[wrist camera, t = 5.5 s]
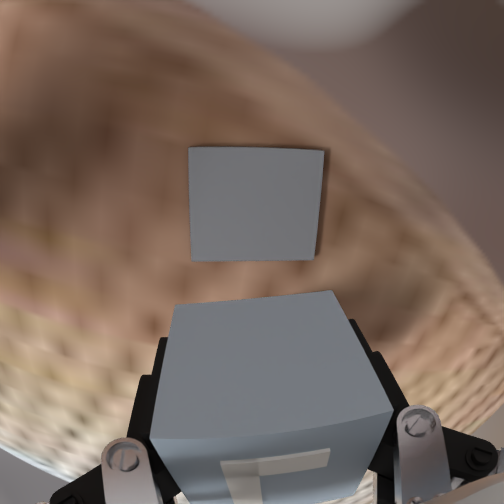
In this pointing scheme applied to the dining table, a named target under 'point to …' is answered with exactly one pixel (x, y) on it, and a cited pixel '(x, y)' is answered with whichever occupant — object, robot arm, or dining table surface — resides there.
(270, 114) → the dining table surface
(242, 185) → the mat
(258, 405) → the letter block
